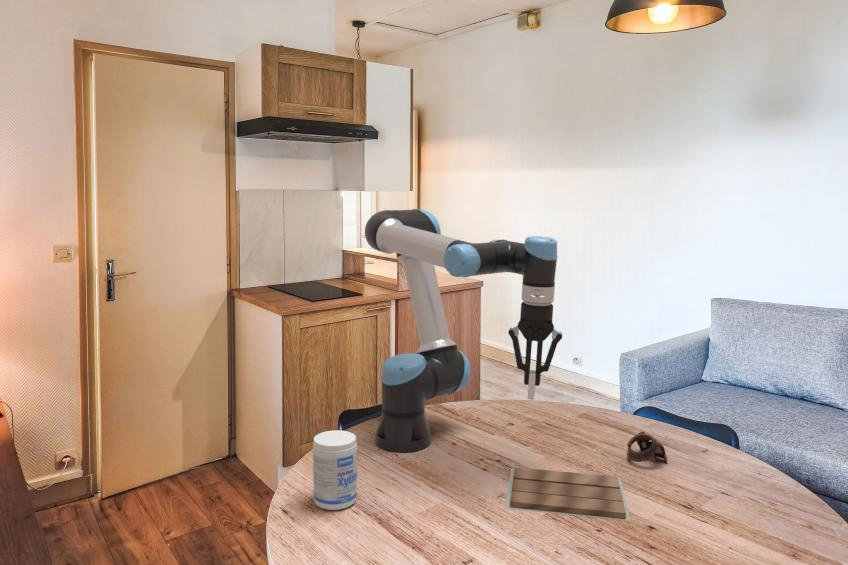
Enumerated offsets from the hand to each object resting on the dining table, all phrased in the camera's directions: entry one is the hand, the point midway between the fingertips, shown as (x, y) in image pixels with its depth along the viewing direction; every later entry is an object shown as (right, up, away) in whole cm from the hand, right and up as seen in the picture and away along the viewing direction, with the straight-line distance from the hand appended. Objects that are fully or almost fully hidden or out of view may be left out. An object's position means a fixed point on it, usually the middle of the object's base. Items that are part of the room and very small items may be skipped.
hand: (530, 397), depth 156 cm
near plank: (+6, -20, -11) cm, 24 cm away
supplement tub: (-46, -21, -14) cm, 52 cm away
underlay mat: (+6, -20, -10) cm, 23 cm away
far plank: (+7, -19, -5) cm, 21 cm away
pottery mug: (+31, -18, +9) cm, 37 cm away
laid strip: (+5, -21, -17) cm, 27 cm away
